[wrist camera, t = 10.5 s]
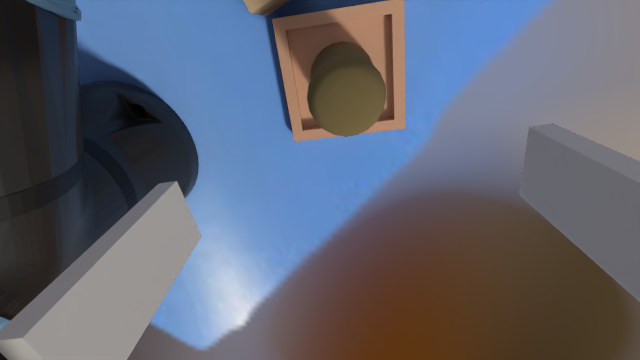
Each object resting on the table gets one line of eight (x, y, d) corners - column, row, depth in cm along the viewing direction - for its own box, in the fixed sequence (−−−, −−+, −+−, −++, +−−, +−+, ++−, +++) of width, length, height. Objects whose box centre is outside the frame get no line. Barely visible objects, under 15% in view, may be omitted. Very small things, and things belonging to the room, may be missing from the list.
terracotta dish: (295, 136, 31) (294, 141, 30) (274, 19, 26) (271, 18, 25) (402, 124, 30) (405, 128, 29) (400, -1, 25) (404, -3, 24)
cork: (308, 42, 27) (295, 50, 17) (376, 40, 26) (402, 47, 17) (311, 109, 29) (300, 149, 20) (372, 108, 29) (392, 148, 19)
